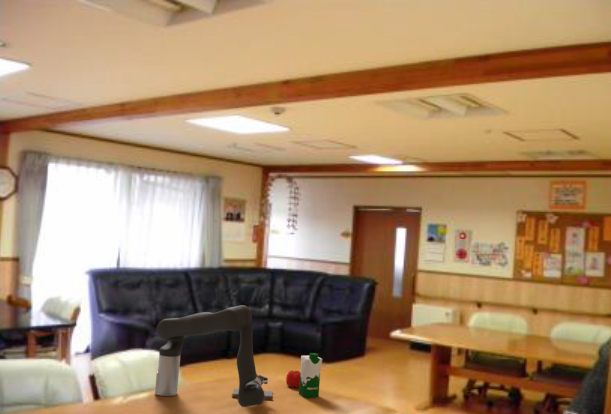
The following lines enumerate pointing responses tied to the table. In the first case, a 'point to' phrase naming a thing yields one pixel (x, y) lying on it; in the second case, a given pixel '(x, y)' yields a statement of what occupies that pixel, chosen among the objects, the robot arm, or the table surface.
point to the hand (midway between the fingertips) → (254, 375)
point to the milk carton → (310, 376)
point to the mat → (264, 392)
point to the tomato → (293, 379)
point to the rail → (267, 397)
